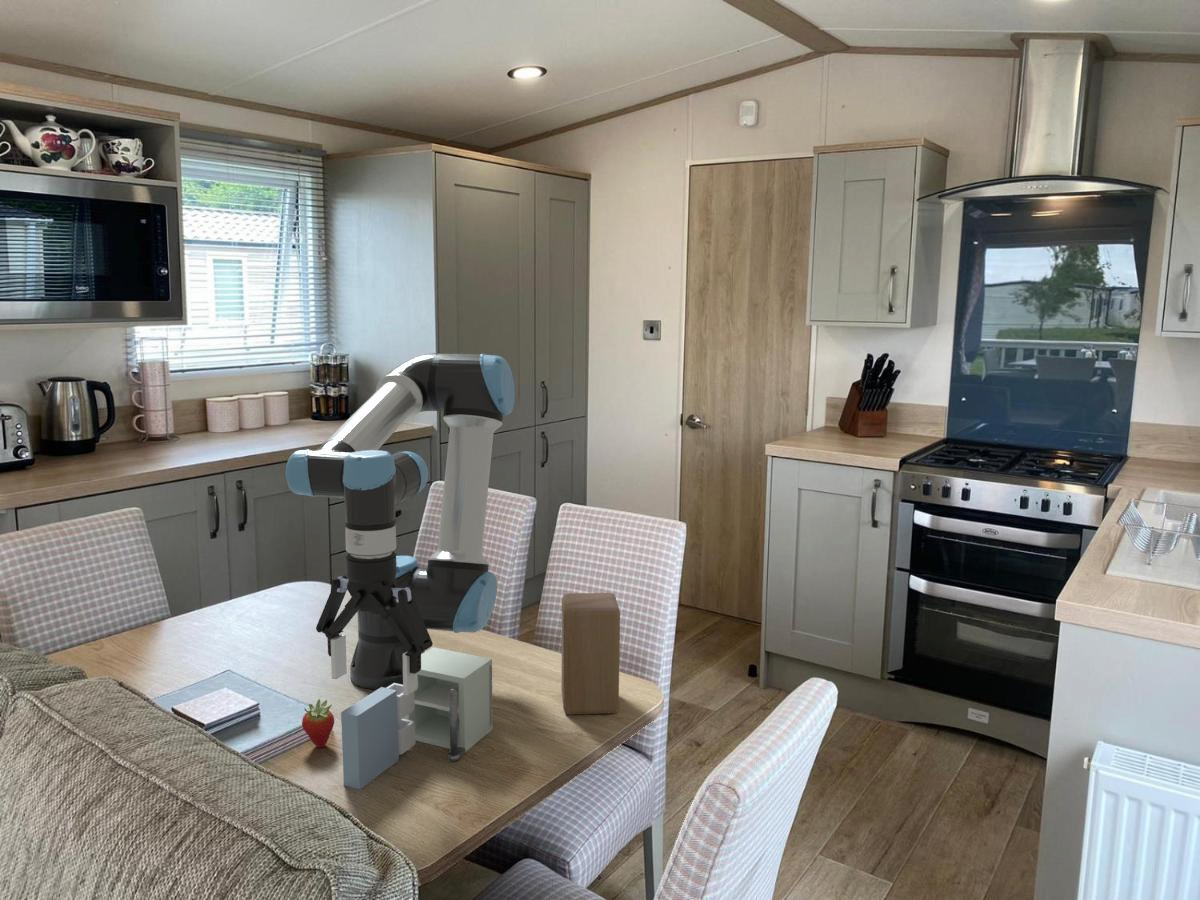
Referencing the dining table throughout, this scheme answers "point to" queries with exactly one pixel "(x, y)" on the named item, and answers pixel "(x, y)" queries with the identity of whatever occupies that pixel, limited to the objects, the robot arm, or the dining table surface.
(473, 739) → the cabinet
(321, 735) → the fruit
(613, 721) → the dining table surface
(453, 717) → the hinge pin
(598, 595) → the wooden block
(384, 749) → the door
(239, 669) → the dining table surface
